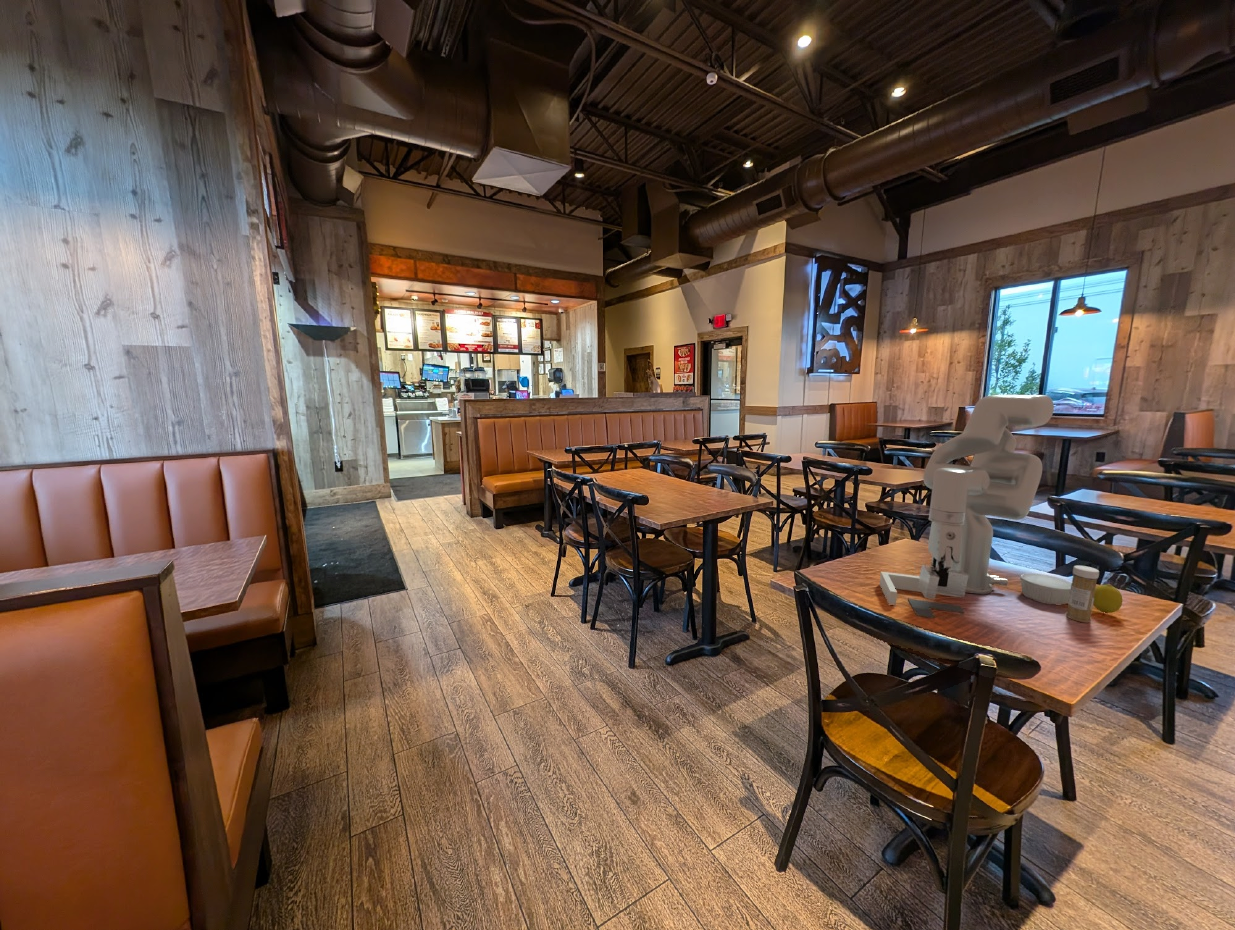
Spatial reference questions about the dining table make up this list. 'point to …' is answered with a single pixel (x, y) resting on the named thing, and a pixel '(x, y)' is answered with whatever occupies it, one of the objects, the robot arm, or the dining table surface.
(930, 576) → the angle bracket
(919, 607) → the pose mat
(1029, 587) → the ramekin
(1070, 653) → the dining table surface
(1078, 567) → the sprinkles bottle
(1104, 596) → the lemon
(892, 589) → the light grey l-shaped block
